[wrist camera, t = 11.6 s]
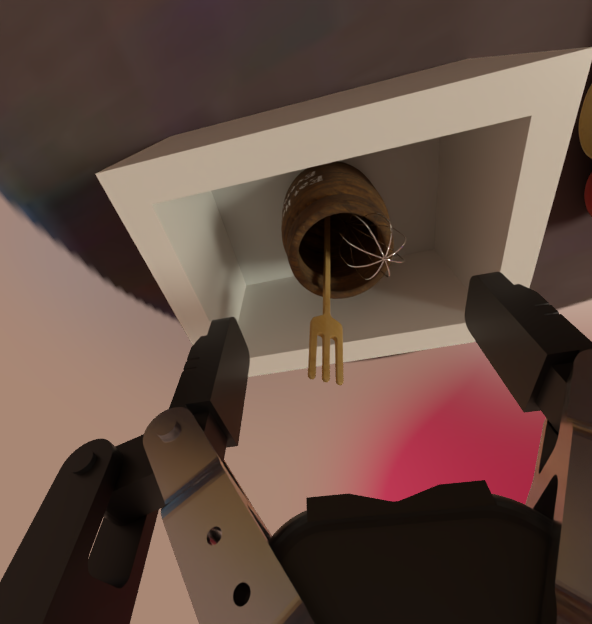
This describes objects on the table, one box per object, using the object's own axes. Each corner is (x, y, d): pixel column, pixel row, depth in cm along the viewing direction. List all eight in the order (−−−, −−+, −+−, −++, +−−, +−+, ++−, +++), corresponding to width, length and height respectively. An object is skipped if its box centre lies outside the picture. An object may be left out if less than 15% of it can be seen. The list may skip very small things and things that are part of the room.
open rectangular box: (170, 136, 19) (95, 173, 12) (465, 59, 17) (595, 46, 10) (235, 297, 26) (213, 382, 19) (448, 257, 24) (516, 335, 17)
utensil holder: (390, 175, 19) (487, 273, 10) (349, 262, 23) (390, 396, 13) (299, 142, 18) (306, 216, 9) (271, 239, 22) (254, 368, 12)
